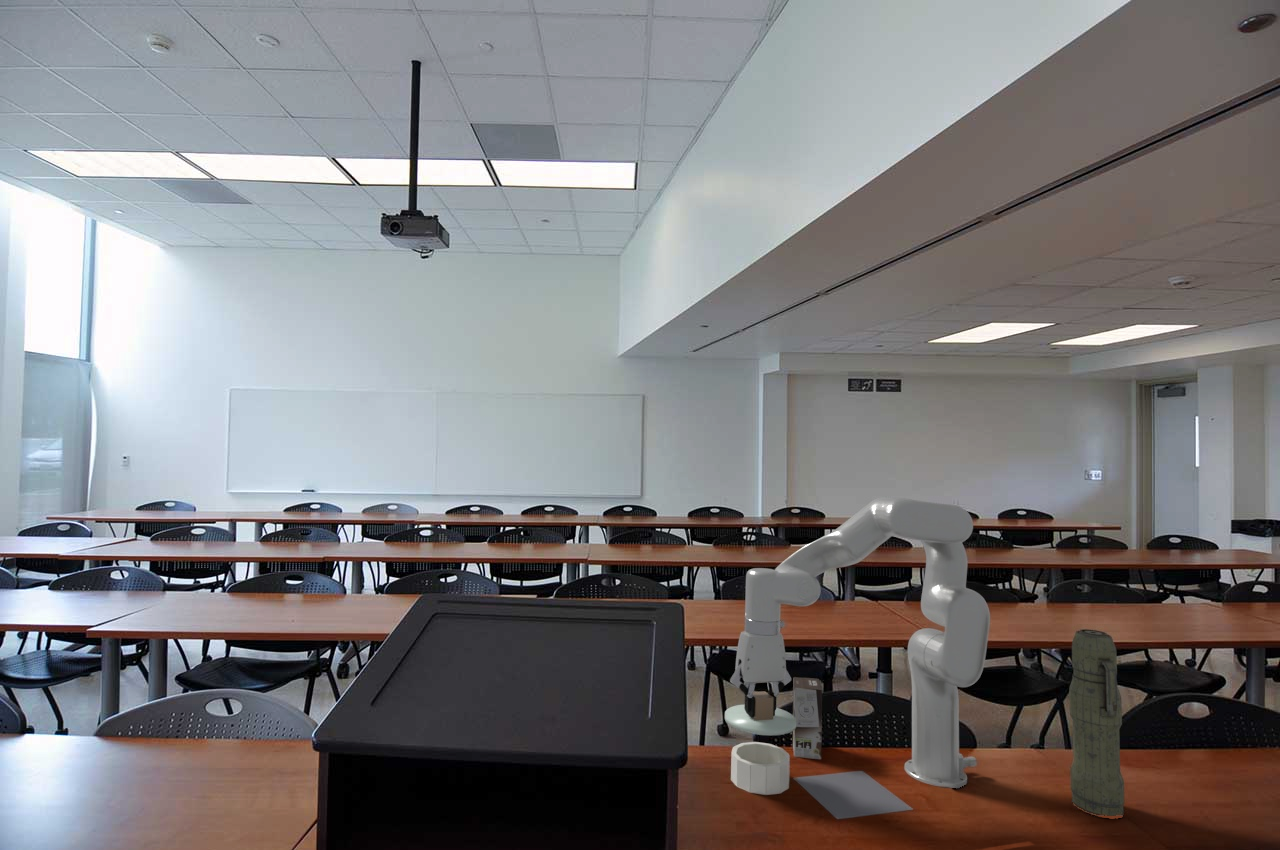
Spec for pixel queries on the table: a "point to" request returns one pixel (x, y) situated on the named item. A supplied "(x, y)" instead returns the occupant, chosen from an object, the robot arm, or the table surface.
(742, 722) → the lid
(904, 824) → the table surface
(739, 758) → the bowl
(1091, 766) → the thermos
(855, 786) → the mat
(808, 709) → the coffee box
